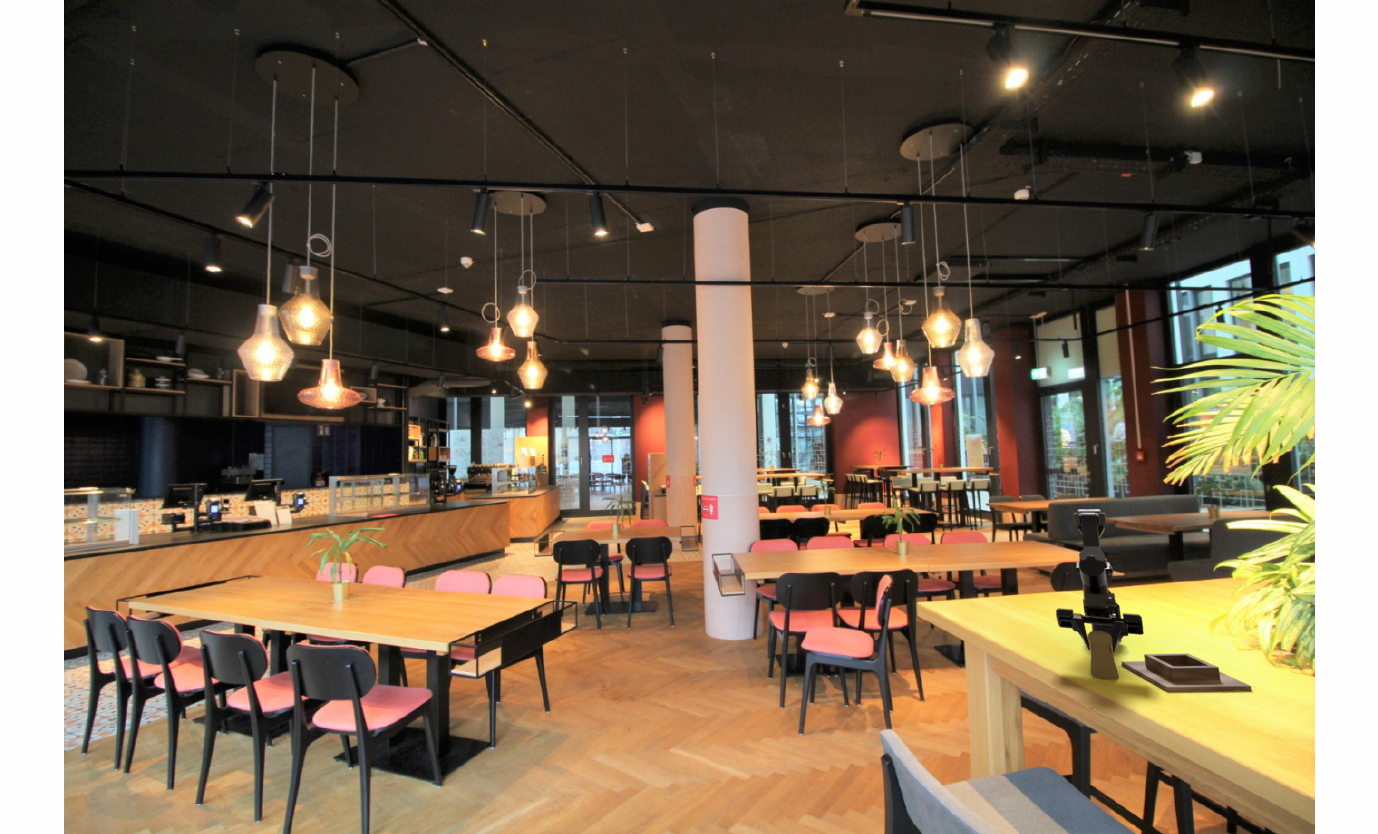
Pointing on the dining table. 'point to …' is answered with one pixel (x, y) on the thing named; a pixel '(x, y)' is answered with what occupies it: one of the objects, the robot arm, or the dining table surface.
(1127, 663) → the holder board
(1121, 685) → the dining table surface
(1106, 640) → the cork
